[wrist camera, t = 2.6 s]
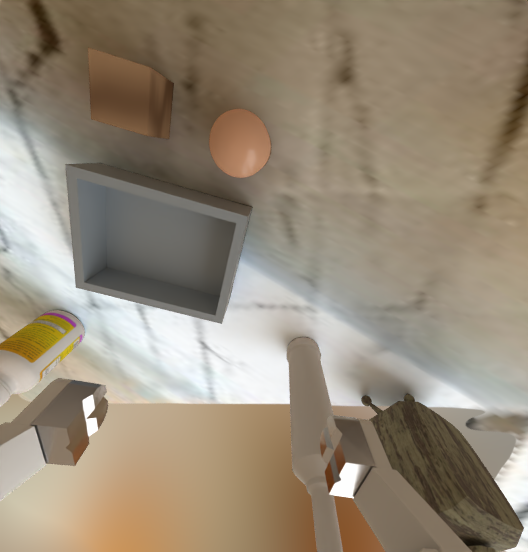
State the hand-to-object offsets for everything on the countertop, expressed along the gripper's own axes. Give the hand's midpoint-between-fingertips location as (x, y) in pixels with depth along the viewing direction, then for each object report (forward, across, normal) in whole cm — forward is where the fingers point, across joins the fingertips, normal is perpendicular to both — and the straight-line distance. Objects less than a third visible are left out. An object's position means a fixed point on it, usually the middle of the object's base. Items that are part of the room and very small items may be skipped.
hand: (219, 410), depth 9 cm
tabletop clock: (+24, -30, +24) cm, 46 cm away
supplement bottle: (+26, +27, +20) cm, 42 cm away
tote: (+24, +10, +2) cm, 27 cm away
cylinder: (+24, +2, -10) cm, 26 cm away
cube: (+24, +13, -12) cm, 30 cm away
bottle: (+25, -11, +16) cm, 31 cm away
